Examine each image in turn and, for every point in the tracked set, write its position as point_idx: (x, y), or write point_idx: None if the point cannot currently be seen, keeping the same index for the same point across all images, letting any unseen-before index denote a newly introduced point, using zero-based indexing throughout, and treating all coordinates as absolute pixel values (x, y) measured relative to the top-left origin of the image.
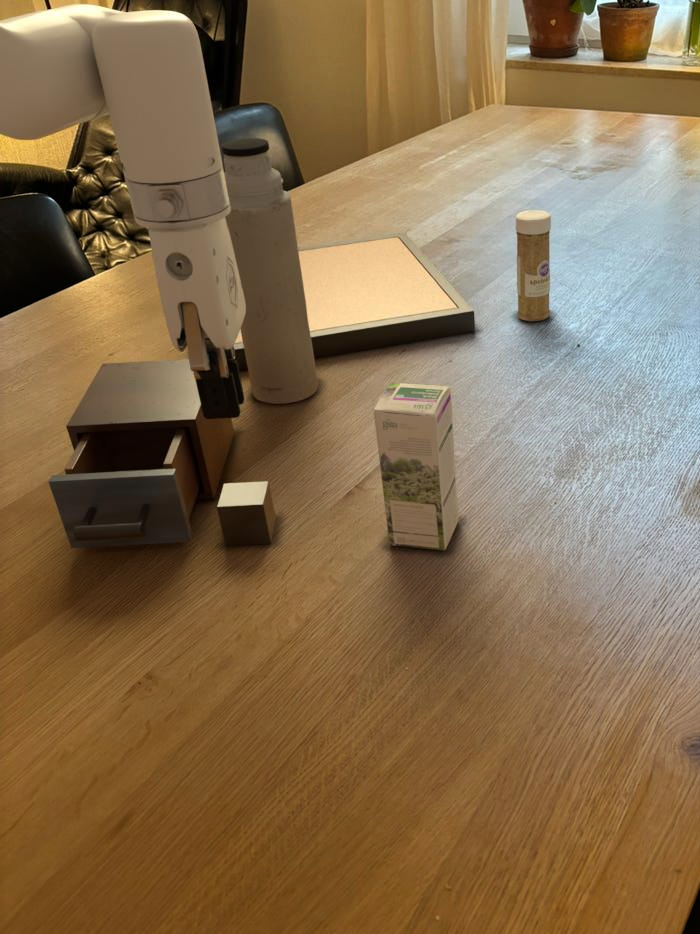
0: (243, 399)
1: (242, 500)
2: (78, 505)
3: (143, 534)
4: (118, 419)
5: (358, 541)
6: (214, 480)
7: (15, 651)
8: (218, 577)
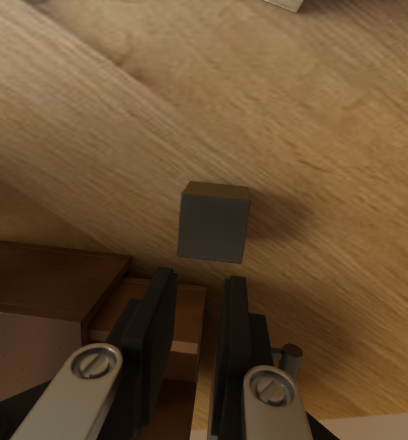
0: (170, 270)
1: (230, 230)
2: None
3: (294, 347)
4: None
5: (268, 64)
6: (105, 259)
7: (372, 412)
8: (304, 246)
